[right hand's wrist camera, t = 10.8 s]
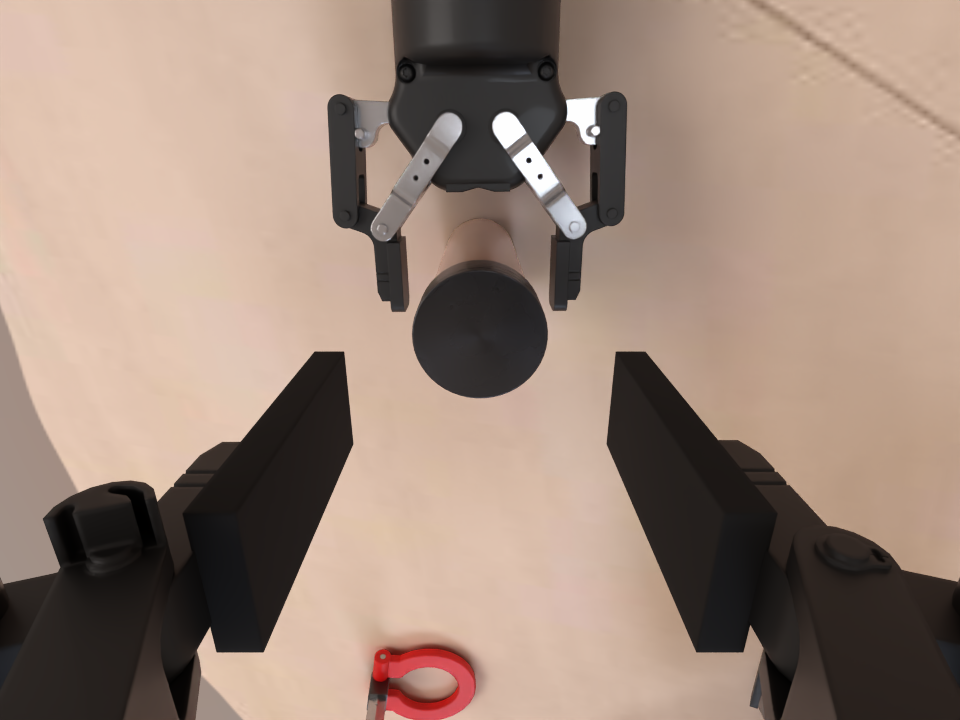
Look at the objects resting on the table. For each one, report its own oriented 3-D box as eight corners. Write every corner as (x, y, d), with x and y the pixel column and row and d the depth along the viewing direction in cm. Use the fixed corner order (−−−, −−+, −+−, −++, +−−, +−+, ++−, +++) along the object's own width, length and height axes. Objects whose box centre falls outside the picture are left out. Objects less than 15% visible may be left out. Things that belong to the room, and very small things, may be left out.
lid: (519, 240, 19) (522, 249, 18) (557, 355, 21) (564, 374, 19) (398, 285, 20) (390, 298, 18) (444, 393, 22) (441, 415, 20)
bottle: (500, 208, 33) (517, 255, 18) (522, 273, 35) (555, 366, 20) (435, 232, 34) (400, 298, 19) (460, 295, 35) (445, 402, 20)
